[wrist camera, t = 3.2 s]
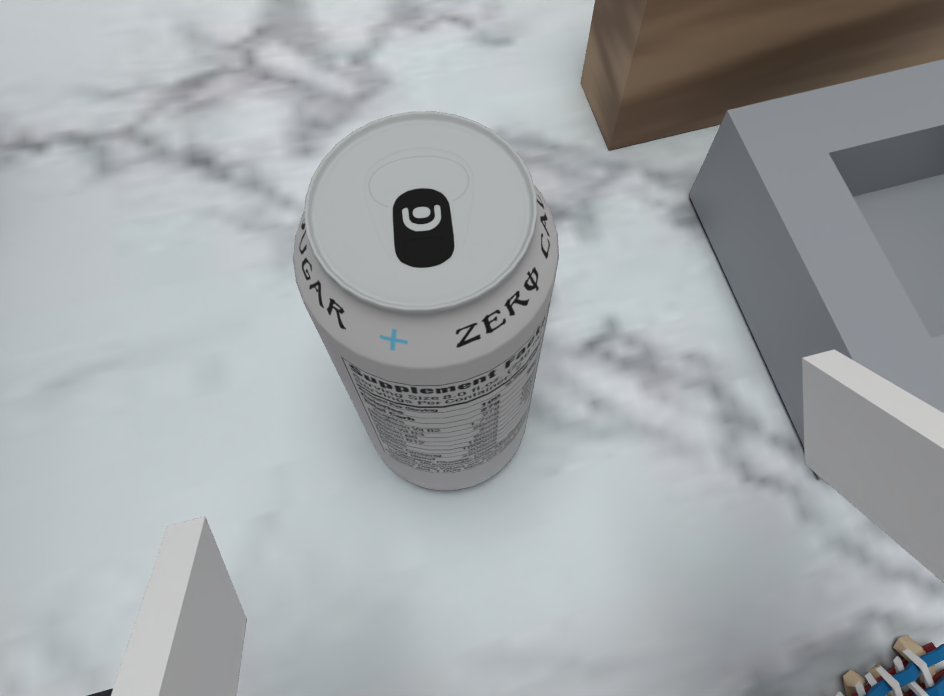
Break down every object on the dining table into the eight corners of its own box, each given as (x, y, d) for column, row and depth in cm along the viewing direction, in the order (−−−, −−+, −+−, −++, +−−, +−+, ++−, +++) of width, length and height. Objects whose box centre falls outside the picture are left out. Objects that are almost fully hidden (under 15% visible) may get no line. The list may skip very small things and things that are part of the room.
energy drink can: (515, 340, 31) (544, 77, 17) (535, 487, 28) (589, 322, 15) (367, 355, 31) (273, 101, 17) (375, 504, 28) (274, 353, 14)
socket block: (1126, 390, 29) (1261, 334, 24) (818, 479, 28) (893, 439, 23) (958, 128, 34) (1041, 35, 29) (689, 194, 33) (727, 110, 28)
